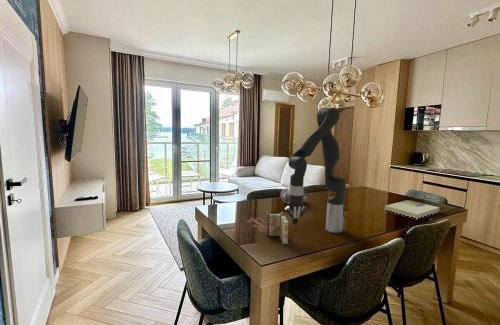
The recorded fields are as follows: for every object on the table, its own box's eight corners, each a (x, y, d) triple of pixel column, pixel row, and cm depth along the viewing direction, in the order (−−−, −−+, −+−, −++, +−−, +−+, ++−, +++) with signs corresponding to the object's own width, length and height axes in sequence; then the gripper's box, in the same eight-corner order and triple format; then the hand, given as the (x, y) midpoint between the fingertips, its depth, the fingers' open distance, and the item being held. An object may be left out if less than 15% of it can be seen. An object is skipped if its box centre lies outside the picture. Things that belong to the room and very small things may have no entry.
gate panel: (280, 235, 140) (280, 215, 138) (283, 235, 140) (284, 215, 139) (283, 243, 129) (284, 222, 128) (287, 243, 130) (288, 222, 128)
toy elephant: (297, 200, 221) (295, 184, 222) (310, 201, 206) (308, 184, 207) (279, 205, 211) (277, 187, 212) (292, 206, 196) (290, 187, 197)
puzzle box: (383, 211, 195) (417, 220, 174) (384, 205, 194) (417, 214, 174) (407, 205, 213) (440, 213, 193) (408, 200, 213) (440, 207, 193)
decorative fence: (263, 218, 170) (244, 221, 164) (264, 216, 170) (244, 219, 163) (283, 230, 150) (261, 234, 143) (283, 228, 150) (261, 232, 143)
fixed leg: (283, 233, 143) (284, 212, 141) (283, 235, 140) (284, 213, 139) (265, 233, 142) (265, 212, 140) (265, 235, 140) (266, 213, 138)
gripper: (287, 195, 127) (286, 227, 129) (310, 194, 130) (309, 225, 132) (282, 192, 134) (281, 222, 137) (304, 191, 137) (303, 220, 140)
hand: (295, 224), depth 134 cm, fingers closed
